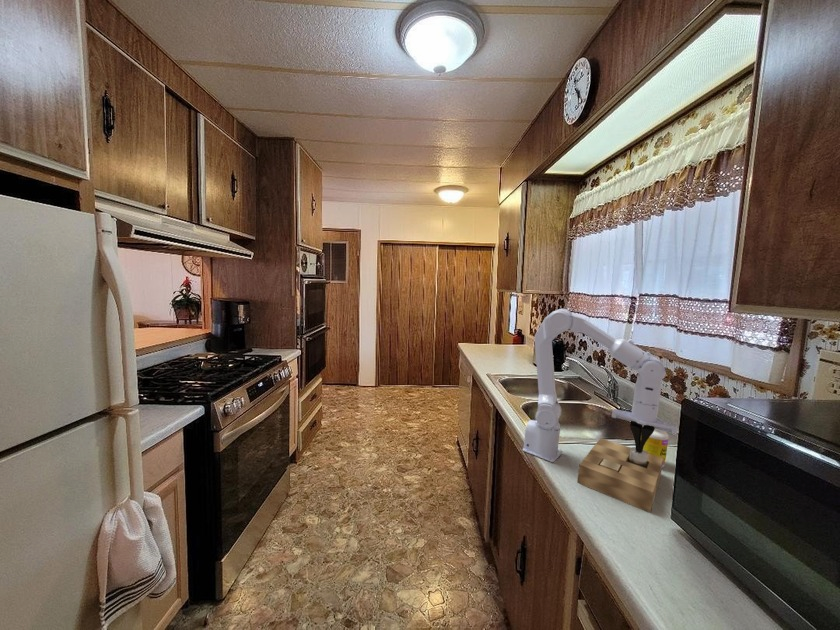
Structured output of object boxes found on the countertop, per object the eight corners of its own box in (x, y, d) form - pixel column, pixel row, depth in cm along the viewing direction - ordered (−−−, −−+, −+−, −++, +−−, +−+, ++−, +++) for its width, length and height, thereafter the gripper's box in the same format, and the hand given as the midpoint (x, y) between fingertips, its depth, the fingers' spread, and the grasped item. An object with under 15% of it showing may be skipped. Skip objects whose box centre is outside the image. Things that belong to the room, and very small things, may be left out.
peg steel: (626, 467, 92) (629, 450, 91) (629, 462, 95) (631, 445, 94) (644, 473, 89) (646, 456, 89) (646, 468, 92) (648, 451, 92)
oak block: (577, 482, 89) (579, 464, 88) (598, 453, 106) (600, 438, 105) (650, 512, 79) (653, 492, 78) (660, 474, 95) (663, 458, 95)
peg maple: (597, 481, 89) (600, 464, 89) (601, 475, 92) (603, 458, 92) (615, 488, 87) (617, 470, 86) (618, 481, 90) (620, 464, 89)
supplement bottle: (660, 471, 97) (667, 428, 96) (634, 461, 102) (640, 420, 101) (667, 464, 102) (673, 423, 100) (641, 454, 106) (647, 415, 105)
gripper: (611, 397, 92) (605, 445, 93) (678, 414, 82) (671, 466, 84) (617, 392, 97) (611, 437, 99) (680, 406, 88) (673, 456, 89)
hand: (639, 450), depth 92 cm, fingers closed
